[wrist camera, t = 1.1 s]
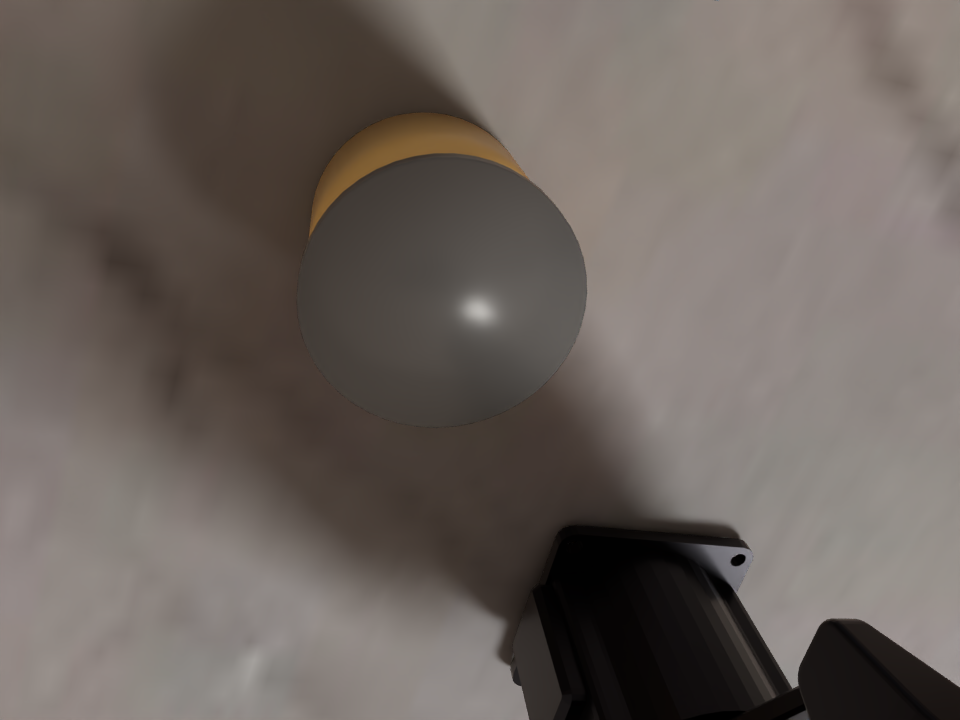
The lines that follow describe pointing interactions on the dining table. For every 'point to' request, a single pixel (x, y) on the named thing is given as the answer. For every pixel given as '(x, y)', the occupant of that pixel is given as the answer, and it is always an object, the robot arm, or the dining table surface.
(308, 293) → the jar
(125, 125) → the dining table surface
